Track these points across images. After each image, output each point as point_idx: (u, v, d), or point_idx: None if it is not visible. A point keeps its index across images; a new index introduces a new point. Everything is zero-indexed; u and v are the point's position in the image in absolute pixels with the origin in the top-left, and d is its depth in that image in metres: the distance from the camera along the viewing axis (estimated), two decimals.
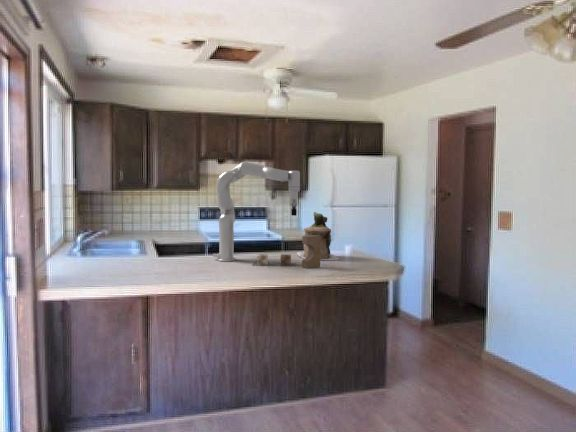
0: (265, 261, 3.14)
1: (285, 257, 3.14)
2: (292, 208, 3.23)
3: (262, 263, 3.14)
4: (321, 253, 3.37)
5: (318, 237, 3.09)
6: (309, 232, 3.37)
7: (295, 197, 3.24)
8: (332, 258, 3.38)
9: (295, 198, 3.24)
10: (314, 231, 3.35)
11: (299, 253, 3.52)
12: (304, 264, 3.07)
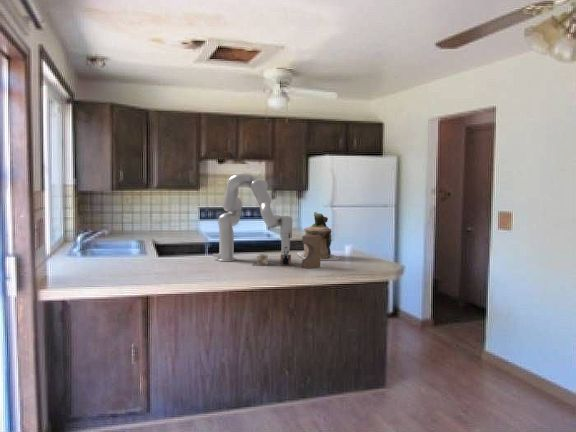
0: (265, 261, 3.14)
1: None
2: (284, 257, 3.12)
3: (262, 263, 3.14)
4: (321, 253, 3.37)
5: (318, 237, 3.09)
6: (309, 232, 3.37)
7: (287, 244, 3.12)
8: (332, 258, 3.38)
9: (287, 245, 3.12)
10: (314, 231, 3.35)
11: (299, 253, 3.51)
12: (304, 264, 3.07)
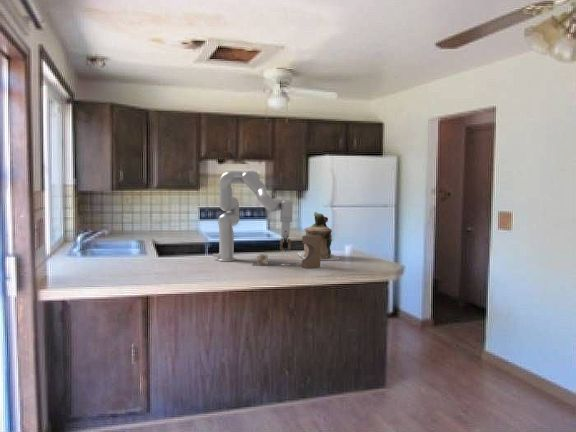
0: (265, 261, 3.14)
1: None
2: (283, 241, 3.12)
3: (262, 263, 3.14)
4: (322, 253, 3.37)
5: (318, 237, 3.09)
6: (310, 232, 3.37)
7: (287, 228, 3.11)
8: (333, 258, 3.38)
9: (287, 229, 3.11)
10: (315, 231, 3.35)
11: (300, 253, 3.51)
12: (304, 264, 3.07)
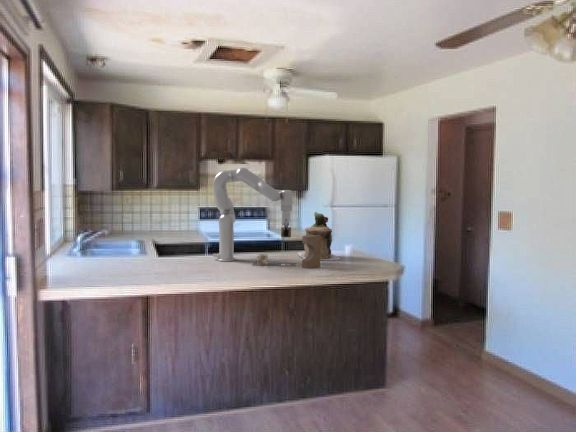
0: (265, 261, 3.14)
1: None
2: (284, 229, 3.25)
3: (262, 263, 3.14)
4: (322, 253, 3.37)
5: (318, 237, 3.09)
6: (310, 232, 3.37)
7: (287, 217, 3.24)
8: (333, 258, 3.38)
9: (287, 218, 3.24)
10: (315, 231, 3.34)
11: (300, 253, 3.51)
12: (304, 264, 3.07)
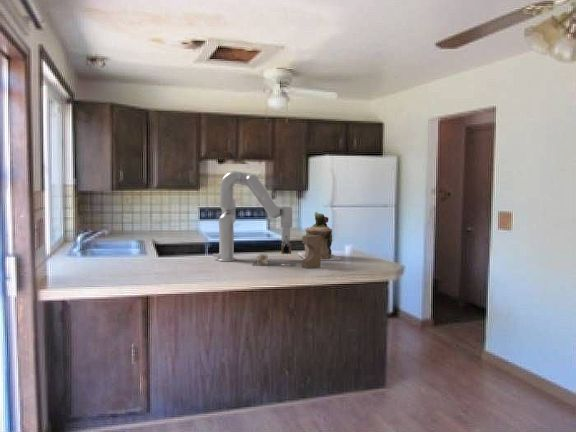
0: (265, 261, 3.14)
1: None
2: (284, 246, 3.26)
3: (262, 263, 3.14)
4: (322, 253, 3.37)
5: (318, 237, 3.09)
6: (310, 232, 3.36)
7: (287, 233, 3.25)
8: (333, 258, 3.38)
9: (287, 234, 3.25)
10: (315, 231, 3.34)
11: (300, 253, 3.51)
12: (304, 264, 3.07)
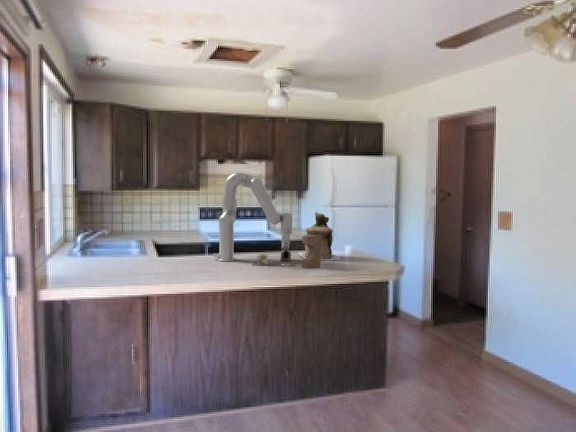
0: (265, 261, 3.14)
1: None
2: (284, 251, 3.25)
3: (262, 263, 3.14)
4: (323, 253, 3.36)
5: (318, 237, 3.09)
6: (311, 232, 3.36)
7: (287, 240, 3.25)
8: (334, 258, 3.38)
9: (287, 241, 3.25)
10: (316, 231, 3.34)
11: (300, 253, 3.51)
12: (304, 264, 3.07)
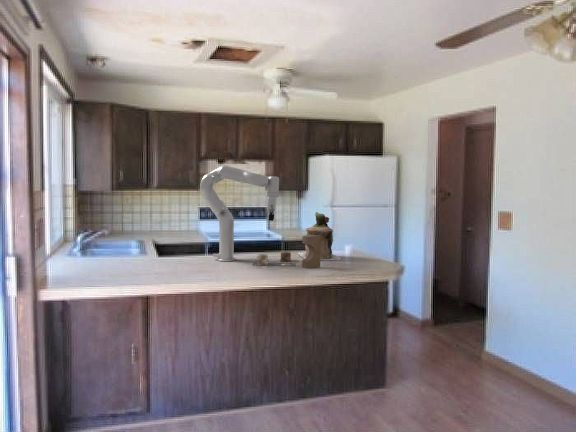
0: (265, 261, 3.14)
1: (285, 254, 3.28)
2: (269, 213, 3.28)
3: (262, 263, 3.14)
4: (323, 253, 3.36)
5: (318, 237, 3.09)
6: (311, 232, 3.36)
7: (273, 203, 3.28)
8: (334, 258, 3.38)
9: (273, 204, 3.28)
10: (316, 231, 3.34)
11: (301, 253, 3.51)
12: (304, 264, 3.07)
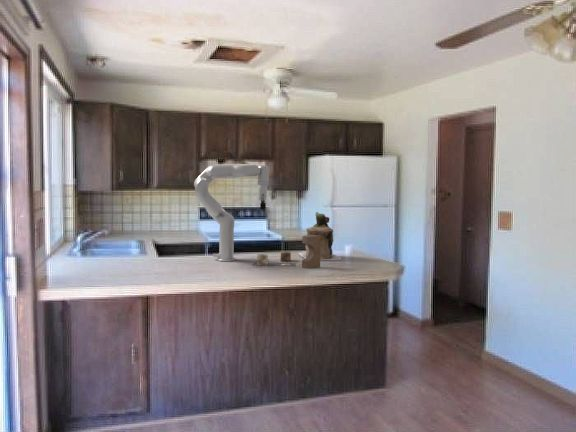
0: (265, 261, 3.14)
1: (285, 254, 3.28)
2: (261, 202, 3.31)
3: (262, 263, 3.14)
4: (323, 253, 3.36)
5: (318, 237, 3.09)
6: (311, 232, 3.36)
7: (264, 191, 3.32)
8: (334, 258, 3.38)
9: (264, 192, 3.32)
10: (316, 231, 3.34)
11: (301, 253, 3.51)
12: (304, 264, 3.07)
